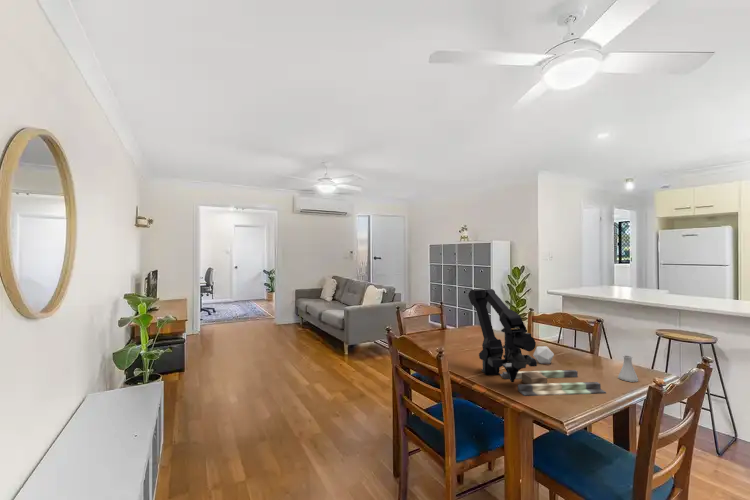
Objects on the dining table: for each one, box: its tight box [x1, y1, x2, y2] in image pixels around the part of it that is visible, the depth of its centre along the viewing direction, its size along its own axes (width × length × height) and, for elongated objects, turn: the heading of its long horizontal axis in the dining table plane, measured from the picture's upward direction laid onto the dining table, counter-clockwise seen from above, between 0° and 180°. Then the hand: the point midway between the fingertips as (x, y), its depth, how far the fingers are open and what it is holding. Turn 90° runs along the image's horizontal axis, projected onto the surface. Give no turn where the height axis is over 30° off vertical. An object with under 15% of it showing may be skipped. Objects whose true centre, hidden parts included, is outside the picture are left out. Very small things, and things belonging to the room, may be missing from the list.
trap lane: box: [499, 369, 607, 397], centre depth 143 cm, size 33×22×2 cm, turn 94°
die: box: [532, 345, 555, 365], centre depth 170 cm, size 8×9×10 cm
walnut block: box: [521, 372, 548, 384], centre depth 143 cm, size 7×7×4 cm
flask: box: [617, 354, 639, 383], centre depth 148 cm, size 7×7×10 cm
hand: (512, 382), depth 142 cm, fingers closed
